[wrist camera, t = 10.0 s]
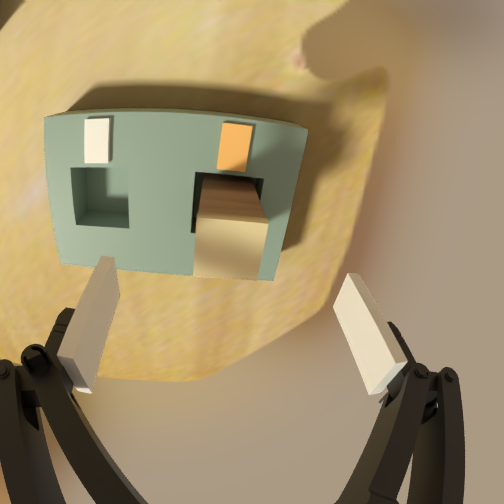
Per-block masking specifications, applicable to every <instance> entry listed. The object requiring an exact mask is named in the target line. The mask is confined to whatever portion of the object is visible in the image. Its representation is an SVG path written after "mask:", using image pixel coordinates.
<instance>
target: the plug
mask: <svg viewBox="0 0 504 504" xmlns="http://www.w3.org/2000/svg"><path fill="white" fill-rule="evenodd" d="M268 225H269V223H268V220H267V218H265V215H264V212H263V209H262V206H261V203H260V201H259V198H258V195H257V192H256V189H255V186H254V184H253V181H252V178H251V177H246V176H237V175H227V174H217V173H206V172H204V178H203V184H202V190H201V197H200V204H199V211H198V212H197V220H196V235H195V250H194V269H193V276H195V277H209V278H224V279H240V280H257V278H258V273H259V268H260V263H261V259H262V254H263V249H264V244H265V239H266V235H267V230H268Z"/></svg>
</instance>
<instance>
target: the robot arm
mask: <svg viewBox="0 0 504 504" xmlns="http://www.w3.org/2000/svg"><path fill="white" fill-rule="evenodd" d="M119 298H120V291H119V285H118V279H117V272H116V265H115V258H114V257H109V256H101V258H100V260H99V262H98V264H97V266H96V268H95V269H94V271H93V273H92V275H91V277H90V279H89V281H88V283H87V286H86V288H85V290H84V292H83V294H82V296H81V298H80V300H79V303H78V305H77V307H76V309H72V308H65V309H64V310H63V311H62V312H61V313H60V314H59V315H58V318H57V320H56V322H55V325H54V326H53V328H52V331H51V333H50V335H49V338H48V340H47V342H46V345H45V347H43V346H42V345H40V344H32V345H29V346H28V347H26V348H25V349H24V351H23V352H22V355H21V363H22V365H23V366H14V365H13V364H12V362H11V361H9V360H6V359H3V360H0V461H1V466H2V471H3V475H4V479H5V482H6V487H7V490H8V494H9V497H10V500H11V504H66V502H65V500H64V497H63V494H62V492H61V489H60V486H59V484H58V480H57V477H56V474H55V471H54V468H53V465H52V462H51V458H50V454H49V450H48V447H47V442H46V438H45V434H44V429H43V425H42V420H41V414H40V409H39V407H42V409H43V411H44V413H45V416H46V418H47V420H48V422H49V425H50V427H51V429H52V431H53V433H54V435H55V437H56V439H57V441H58V443H59V445H60V447H61V449H62V450H63V452H64V454H65V456H66V458H67V459H68V461H69V463H70V465H71V466H72V468H73V470H74V471H75V473H76V474H77V476H78V478H79V479H80V481H81V482H82V484H83V485H84V487H85V488H86V490H87V491H88V493H89V494H90V496H91V497H92V499H93V500H94V501H95V503H96V504H148V503H147V502H146V501H145V500H144V498H142V496H141V495H140V494H139V493H138V491H137V490H136V489H135V488H134V487H133V486H132V484H131V483H130V482H129V481H128V479H127V478H126V477H125V475H124V474H123V473H122V471H121V470H120V469H119V467H118V466H117V465H116V463H115V462H114V460H113V459H112V458H111V456H110V455H109V453H108V452H107V450H106V449H105V447H104V446H103V444H102V443H101V441H100V440H99V438H98V437H97V435H96V434H95V432H94V430H93V429H92V427H91V425H90V424H89V422H88V420H87V418H86V417H85V415H84V413H83V411H82V410H81V408H80V406H79V404H78V403H77V400H76V399H75V397H74V395H73V393H72V389H73V385H74V386H75V387H76V389H77V390H78V391H81V392H86V393H91V394H92V393H93V388H94V384H95V380H96V376H97V372H98V368H99V364H100V360H101V357H102V353H103V349H104V346H105V342H106V339H107V336H108V332H109V329H110V326H111V322H112V319H113V316H114V313H115V310H116V307H117V304H118V301H119ZM333 308H334V310H335V313H336V315H337V318H338V320H339V322H340V325H341V327H342V329H343V332H344V334H345V336H346V339H347V341H348V344H349V346H350V348H351V351H352V353H353V356H354V358H355V361H356V363H357V366H358V368H359V370H360V373H361V376H362V378H363V381H364V383H365V386H366V388H367V391H368V394H369V395H371V394H377V393H381V392H382V391H383V390H384V388H385V387H386V386H387V389H388V392H387V393H386V394H385V395H384V396H383V398H382V399H381V400H380V401H379V403H381V402H382V401H383V400H384V401H383V404H382V407H381V409H380V412H379V415H378V417H377V420H376V422H375V425H374V427H373V430H372V432H371V435H370V437H369V439H368V442H367V444H366V446H365V448H364V450H363V453H362V455H361V457H360V459H359V461H358V463H357V465H356V467H355V469H354V471H353V473H352V475H351V477H350V479H349V481H348V483H347V485H346V487H345V488H344V490H343V492H342V494H341V496H340V497H339V499H338V500H337V501H336V503H334V504H399V503H398V501H397V500H396V498H397V495H398V492H399V490H400V487H401V485H402V482H403V479H404V477H405V474H406V471H407V468H408V465H409V462H410V459H411V456H412V453H413V460H412V470H411V478H410V486H409V493H408V499H407V504H463V497H464V481H465V437H464V421H463V410H462V400H461V392H460V385H459V378H458V375H457V373H456V372H455V371H454V370H453V369H452V368H449V367H445V368H443V369H442V370H441V371H440V372H439V373H437V372H430V371H429V370H428V369H427V367H426V366H424V365H423V364H420V363H416V361H415V359H414V357H413V356H412V354H411V352H410V350H409V348H408V346H407V344H406V342H405V341H404V339H403V337H401V333H400V332H399V330H398V328H397V327H396V326H395V325H394V324H393V323H392V322H387V321H386V320H385V318H384V316H383V314H382V313H381V311H380V309H379V307H378V306H377V304H376V302H375V300H374V299H373V297H372V296H371V294H370V292H369V290H368V289H367V287H366V285H365V284H364V282H363V280H362V279H361V277H360V275H359V274H353V273H348V274H347V276H346V279H345V281H344V283H343V285H342V288H341V290H340V292H339V295H338V297H337V299H336V301H335V304H334V306H333ZM437 403H438V408H437Z"/></svg>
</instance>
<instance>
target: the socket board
mask: <svg viewBox="0 0 504 504" xmlns="http://www.w3.org/2000/svg"><path fill="white" fill-rule="evenodd" d="M307 134H308V129H306V128H304V127H302V126H300V125H298V124H296V123H291V122H286V121H280V120H275V119H268V118H262V117H255V116H248V115H241V114H232V113H223V112H213V111H202V110H188V109H168V108H109V109H90V110H77V111H66V112H62V113H58V114H55V115H51V116H48V117H44V145H45V164H46V177H47V187H48V195H49V203H50V210H51V217H52V223H53V229H54V234H55V239H56V244H57V249H58V254H59V258H60V262H61V264H67V265H77V266H86V267H96V266H97V264H98V262H99V260H100V258H101V256H109V257H114V258H115V265H116V269H117V270H127V271H139V272H150V273H162V274H175V275H188V276H193V269H194V250H195V235H196V220H197V212H198V211H199V204H200V197H201V190H202V184H203V178H204V172H206V173H217V174H227V175H237V176H246V177H251V178H252V181H253V184H254V186H255V189H256V192H257V195H258V198H259V201H260V203H261V206H262V209H263V212H264V215H265V218H267V220H268V223H269V225H268V230H267V235H266V239H265V244H264V249H263V254H262V259H261V263H260V268H259V273H258V278H257V280H265V281H274V277H275V273H276V269H277V265H278V261H279V257H280V253H281V249H282V245H283V240H284V236H285V232H286V228H287V224H288V219H289V215H290V211H291V207H292V202H293V198H294V194H295V189H296V185H297V180H298V176H299V171H300V167H301V162H302V158H303V153H304V149H305V144H306V139H307Z"/></svg>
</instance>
